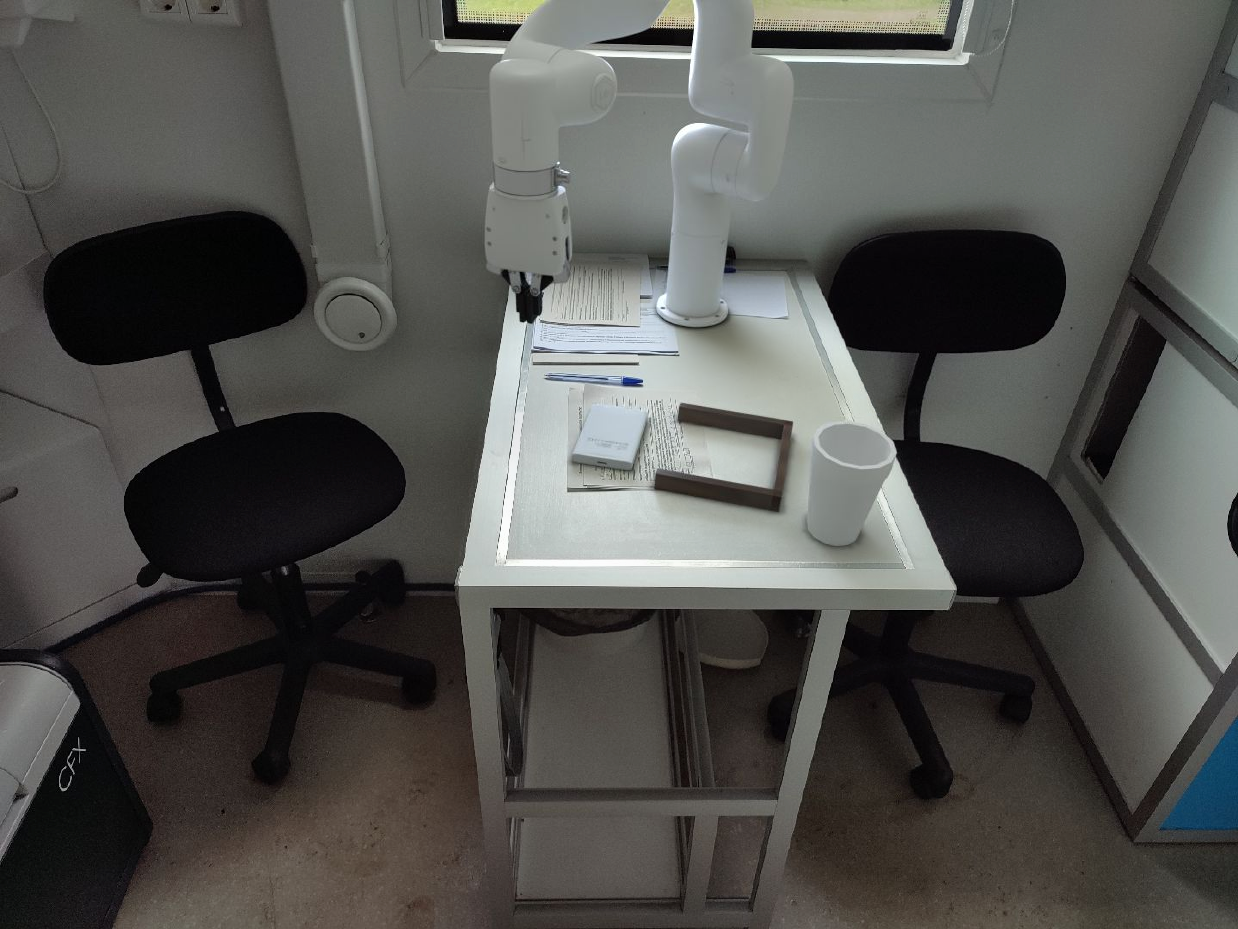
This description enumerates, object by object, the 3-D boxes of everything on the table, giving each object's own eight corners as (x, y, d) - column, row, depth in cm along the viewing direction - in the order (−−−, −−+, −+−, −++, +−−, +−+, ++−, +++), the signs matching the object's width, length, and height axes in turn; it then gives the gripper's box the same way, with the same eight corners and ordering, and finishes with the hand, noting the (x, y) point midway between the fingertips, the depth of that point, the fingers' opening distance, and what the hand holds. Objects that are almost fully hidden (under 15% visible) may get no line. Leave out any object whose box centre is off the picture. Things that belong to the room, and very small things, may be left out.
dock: (679, 416, 125) (680, 402, 123) (790, 435, 122) (793, 421, 121) (654, 488, 111) (655, 473, 110) (778, 512, 109) (781, 496, 107)
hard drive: (647, 420, 124) (631, 471, 114) (592, 412, 125) (571, 462, 115) (648, 410, 123) (632, 461, 113) (592, 402, 124) (571, 452, 114)
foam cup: (857, 565, 101) (882, 479, 94) (784, 537, 105) (802, 452, 97) (879, 520, 108) (905, 436, 100) (809, 495, 111) (828, 412, 104)
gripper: (596, 174, 102) (593, 314, 113) (477, 159, 104) (485, 297, 115) (579, 195, 96) (577, 340, 107) (453, 179, 98) (464, 322, 109)
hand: (529, 318), depth 111 cm, fingers closed
